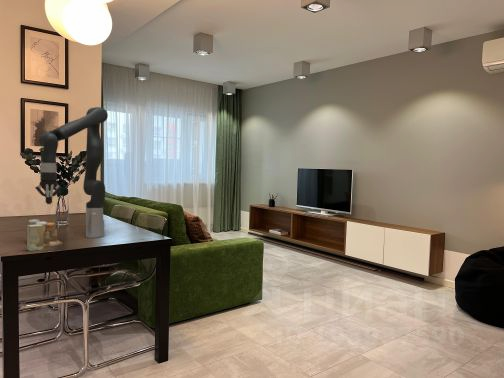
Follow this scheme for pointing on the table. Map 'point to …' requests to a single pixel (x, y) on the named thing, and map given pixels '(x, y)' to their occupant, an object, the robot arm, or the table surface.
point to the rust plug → (49, 226)
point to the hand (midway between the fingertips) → (48, 204)
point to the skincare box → (35, 237)
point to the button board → (50, 238)
